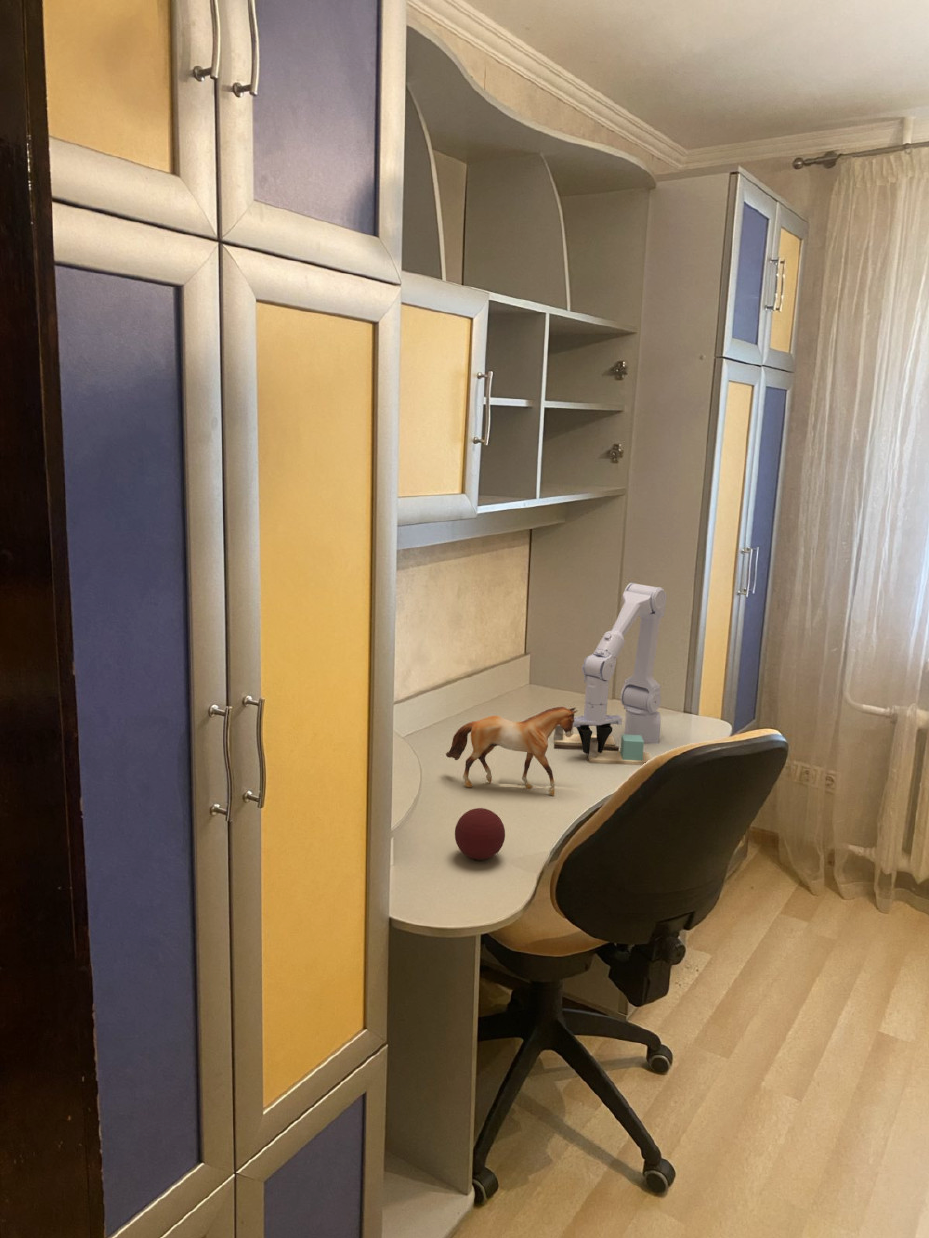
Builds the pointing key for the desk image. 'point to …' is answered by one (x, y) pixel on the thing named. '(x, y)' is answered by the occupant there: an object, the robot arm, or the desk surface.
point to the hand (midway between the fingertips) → (592, 752)
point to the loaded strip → (611, 755)
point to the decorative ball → (479, 833)
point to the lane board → (580, 747)
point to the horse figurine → (512, 739)
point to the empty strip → (575, 738)
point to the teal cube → (632, 747)
